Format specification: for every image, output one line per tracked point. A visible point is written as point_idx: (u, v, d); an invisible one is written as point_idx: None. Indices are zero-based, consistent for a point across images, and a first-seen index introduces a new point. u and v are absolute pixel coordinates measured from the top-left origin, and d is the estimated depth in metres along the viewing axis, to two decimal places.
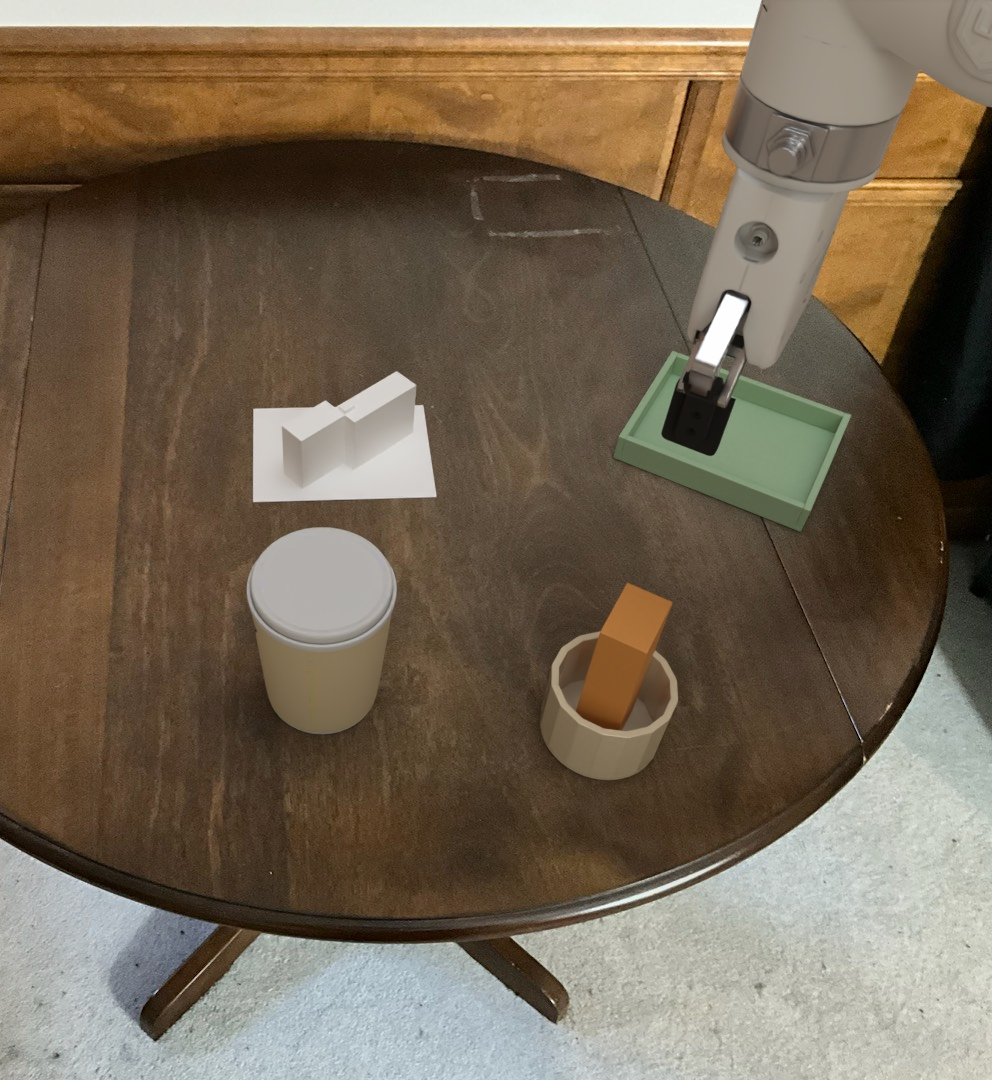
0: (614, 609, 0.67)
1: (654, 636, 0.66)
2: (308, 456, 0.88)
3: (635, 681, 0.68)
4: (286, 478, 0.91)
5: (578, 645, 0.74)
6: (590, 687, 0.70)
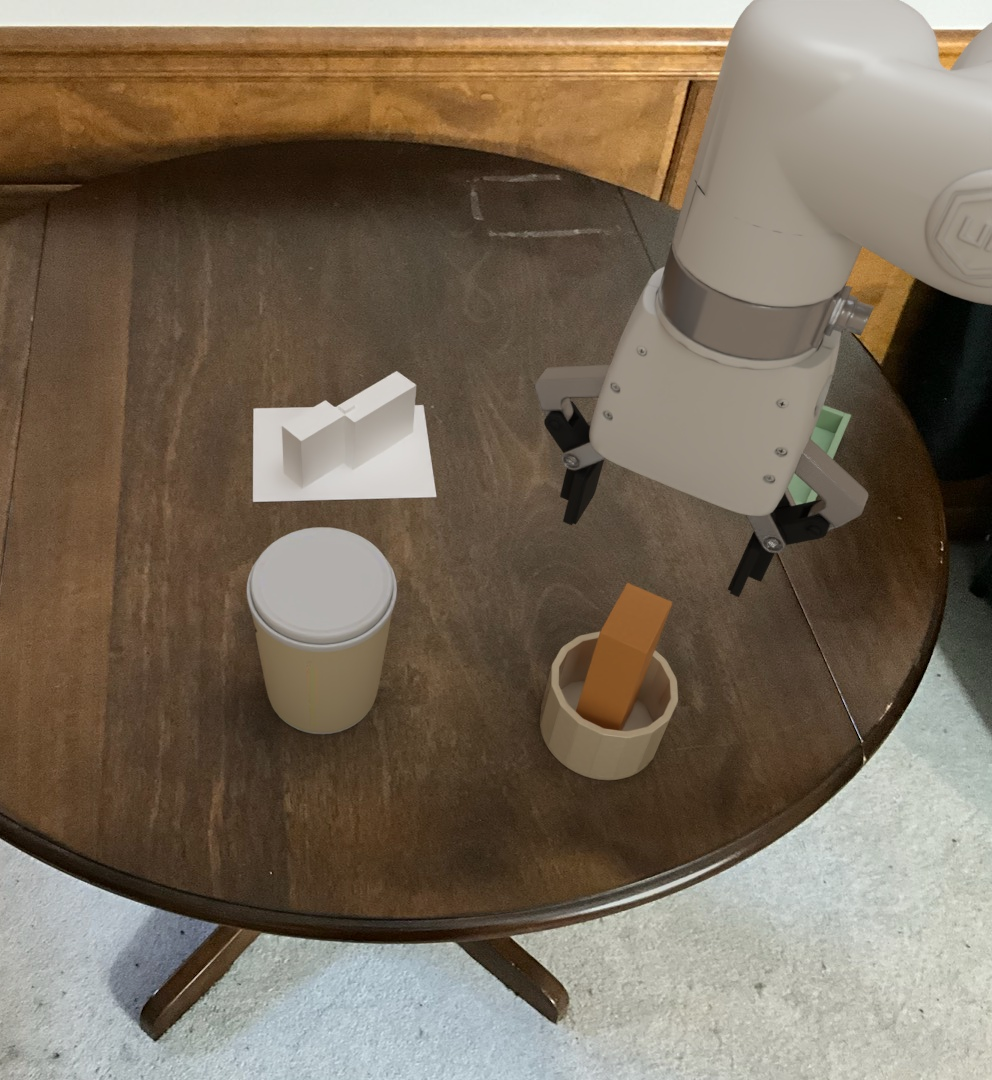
0: (614, 609, 0.67)
1: (654, 636, 0.66)
2: (308, 456, 0.88)
3: (635, 681, 0.68)
4: (286, 478, 0.91)
5: (578, 645, 0.74)
6: (590, 687, 0.70)
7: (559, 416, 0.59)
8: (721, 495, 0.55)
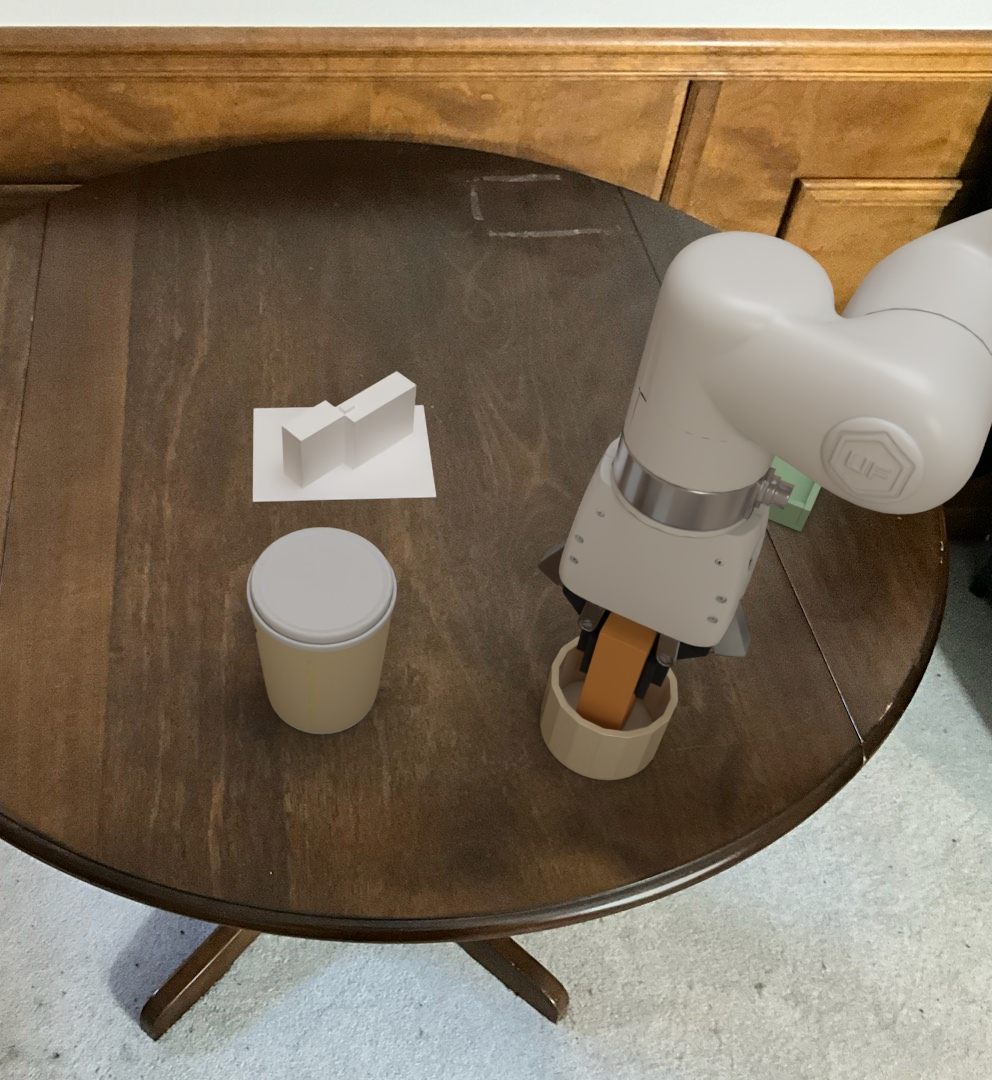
0: None
1: (654, 636, 0.66)
2: (308, 456, 0.88)
3: (635, 681, 0.68)
4: (286, 477, 0.91)
5: None
6: (590, 687, 0.70)
7: None
8: (672, 629, 0.63)
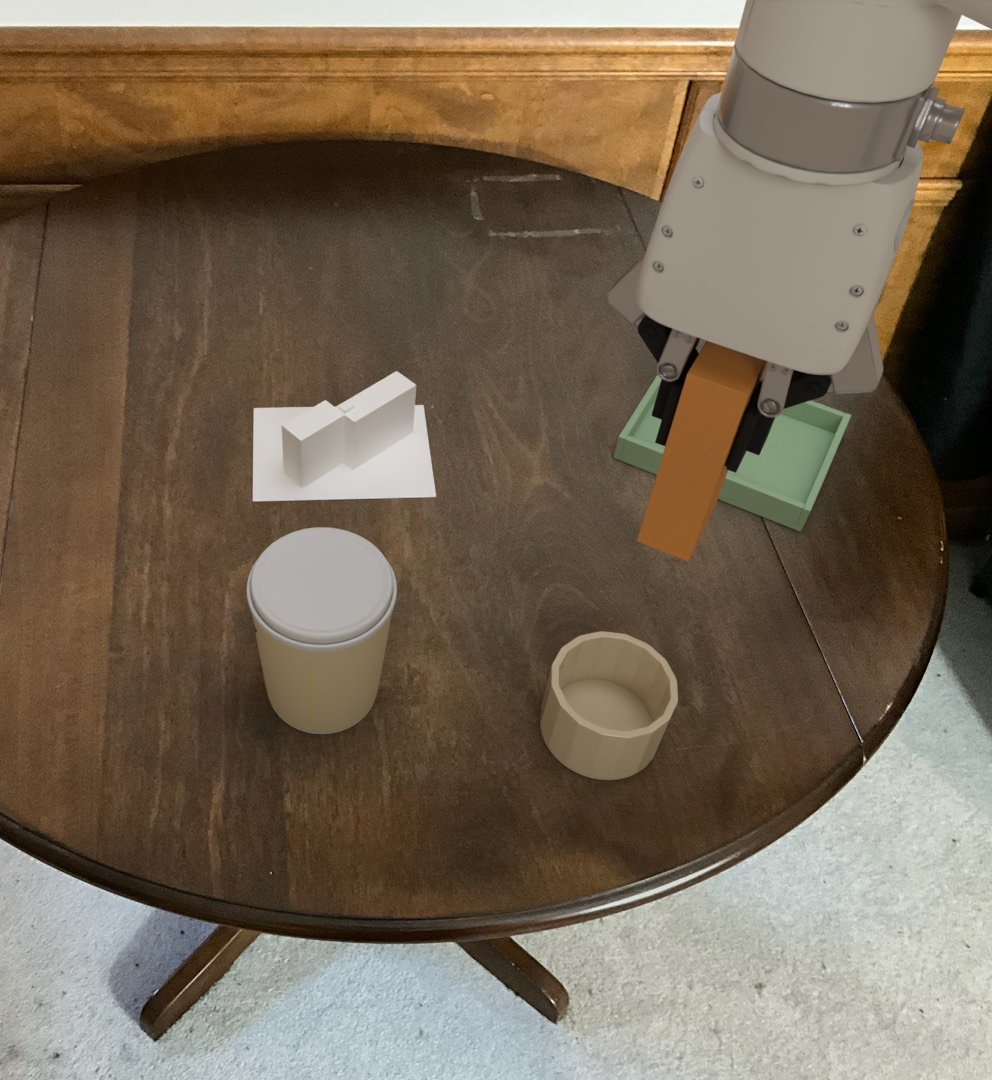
0: (702, 350, 0.54)
1: (755, 378, 0.53)
2: (308, 455, 0.88)
3: (730, 441, 0.54)
4: (285, 477, 0.91)
5: (578, 645, 0.74)
6: (670, 460, 0.57)
7: (655, 320, 0.54)
8: (785, 352, 0.50)
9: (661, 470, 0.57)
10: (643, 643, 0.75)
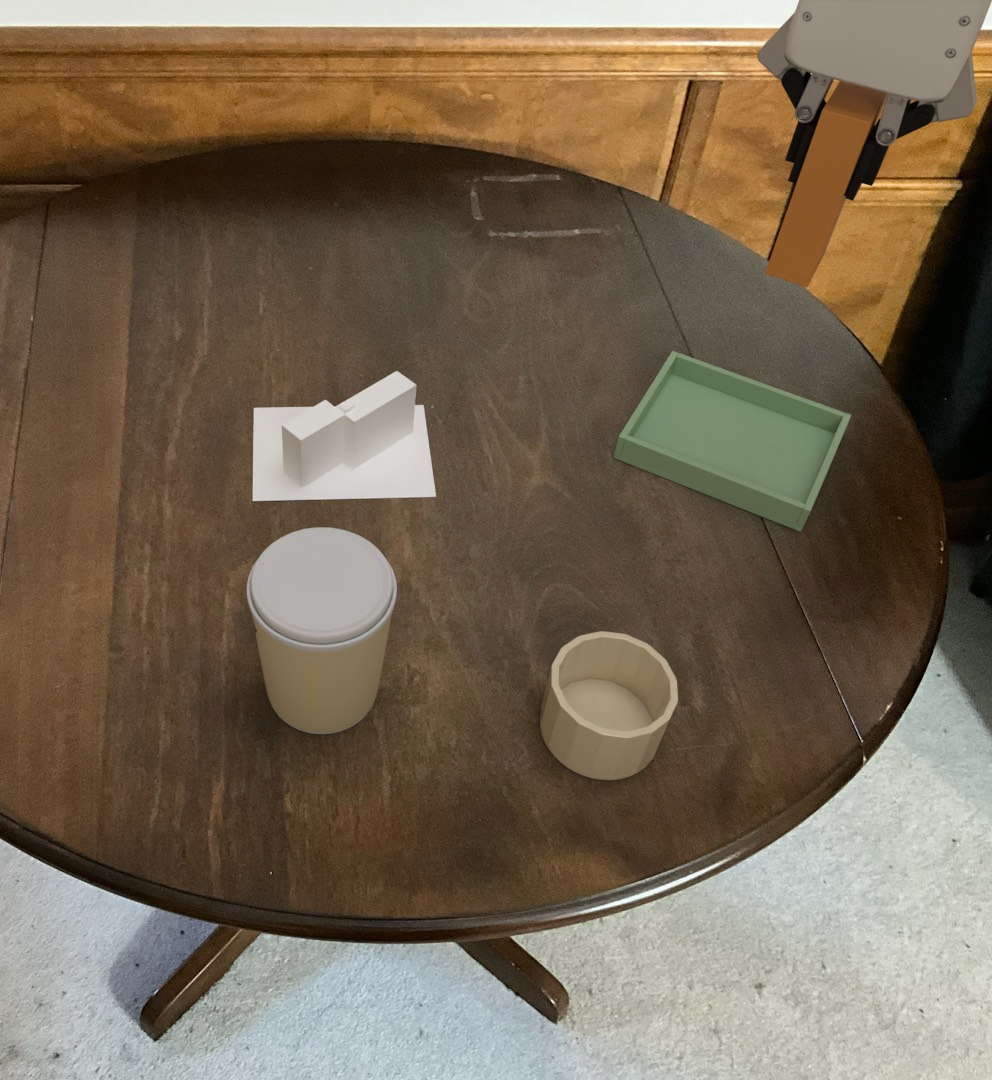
0: (832, 96, 0.69)
1: (875, 113, 0.68)
2: (308, 455, 0.88)
3: (852, 167, 0.70)
4: (285, 477, 0.91)
5: (578, 645, 0.74)
6: (801, 192, 0.72)
7: (796, 71, 0.69)
8: (904, 81, 0.65)
9: (792, 202, 0.73)
10: (643, 643, 0.75)
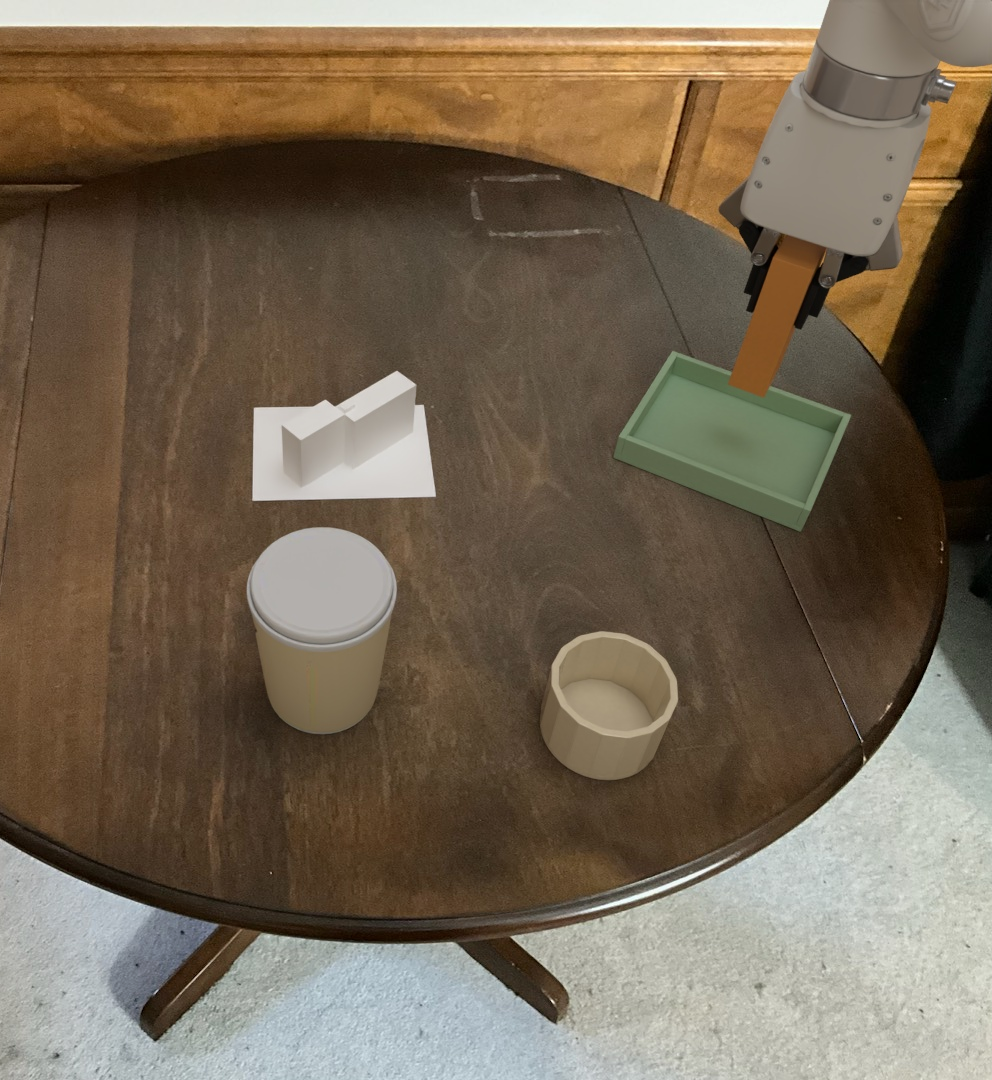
0: (782, 244, 0.81)
1: (818, 261, 0.80)
2: (307, 455, 0.88)
3: (799, 304, 0.81)
4: (285, 477, 0.91)
5: (578, 645, 0.74)
6: (756, 321, 0.84)
7: (751, 223, 0.81)
8: (840, 240, 0.77)
9: (749, 329, 0.85)
10: (643, 643, 0.75)
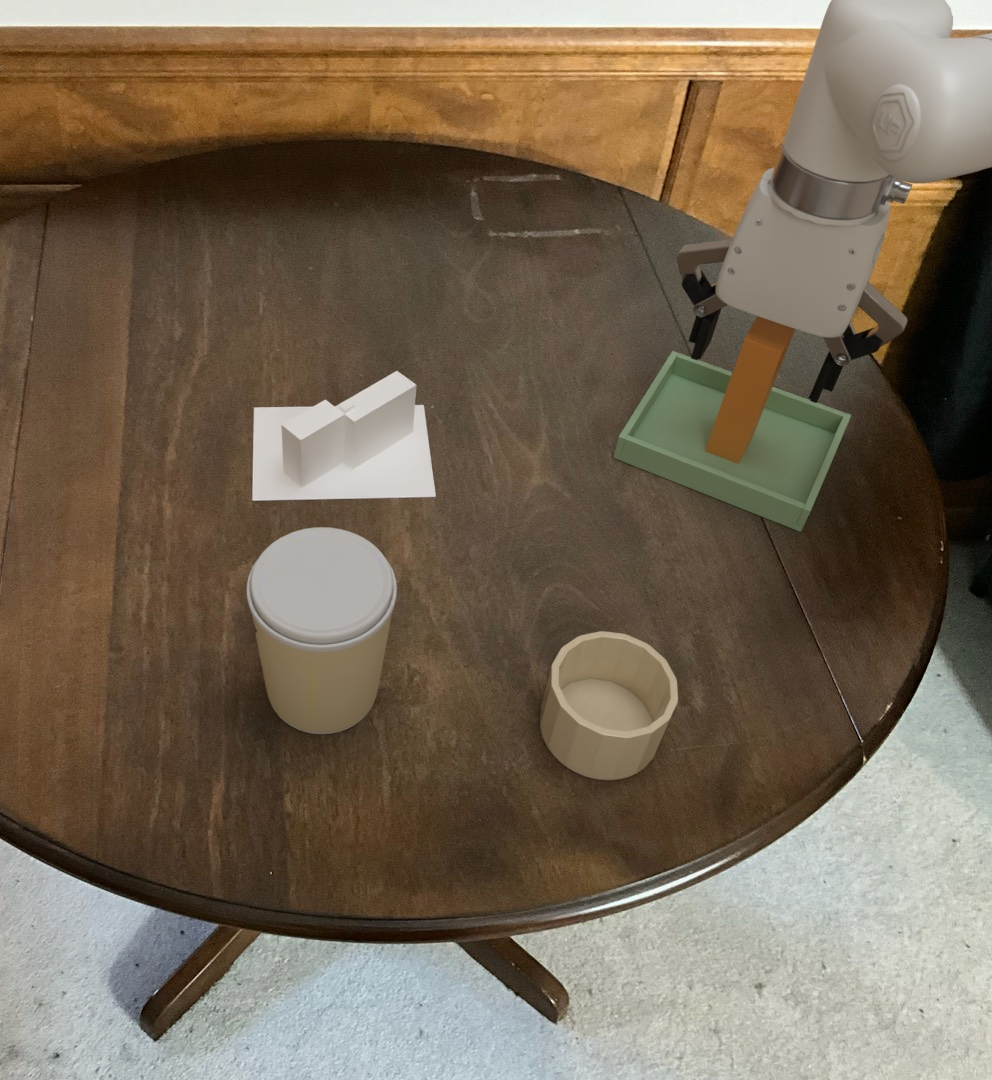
0: (753, 325, 0.87)
1: (786, 341, 0.85)
2: (307, 455, 0.88)
3: (769, 381, 0.87)
4: (285, 477, 0.91)
5: (578, 645, 0.74)
6: (730, 395, 0.89)
7: (693, 278, 0.86)
8: (808, 323, 0.82)
9: (724, 401, 0.90)
10: (643, 643, 0.75)
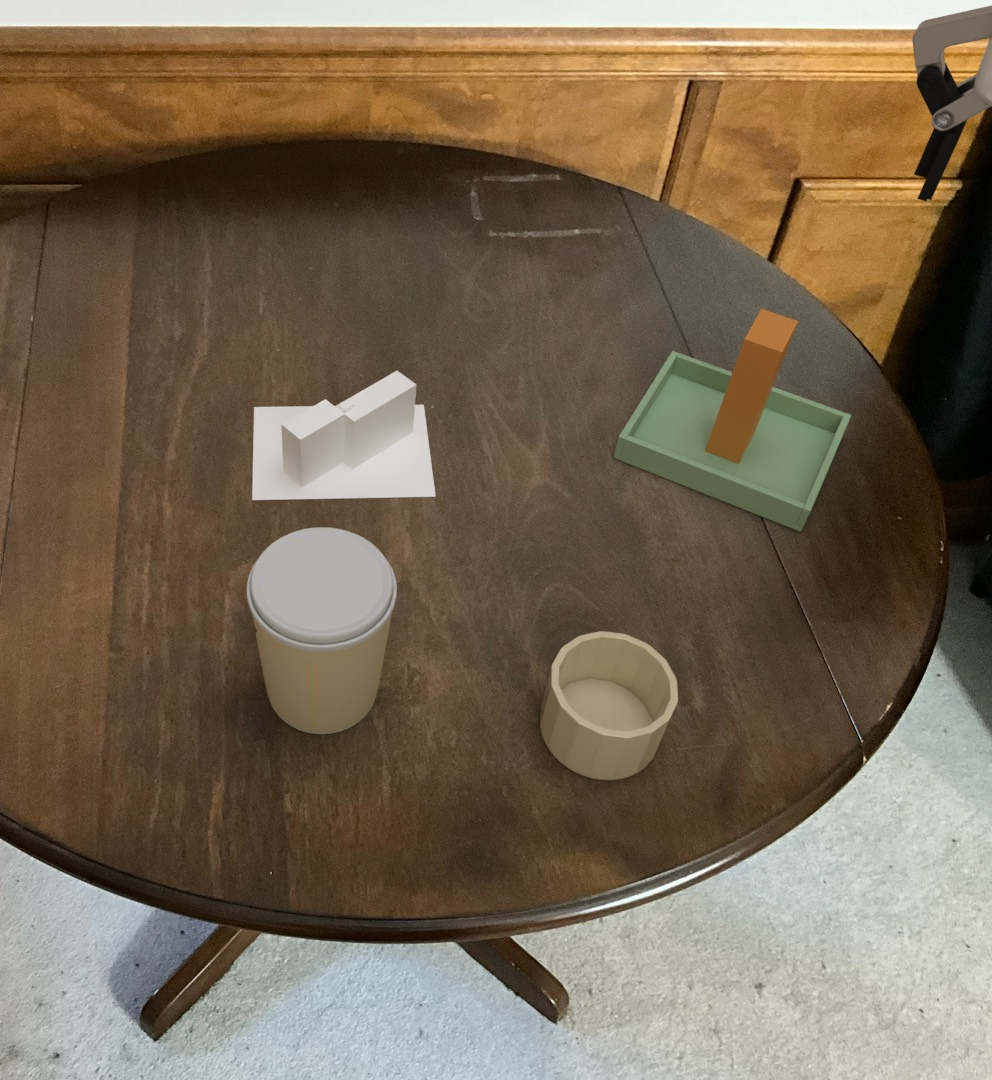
0: (753, 325, 0.87)
1: (786, 341, 0.85)
2: (307, 454, 0.88)
3: (769, 381, 0.87)
4: (285, 476, 0.91)
5: (578, 645, 0.74)
6: (730, 395, 0.89)
7: (935, 70, 0.58)
8: None
9: (724, 401, 0.90)
10: (643, 643, 0.75)
